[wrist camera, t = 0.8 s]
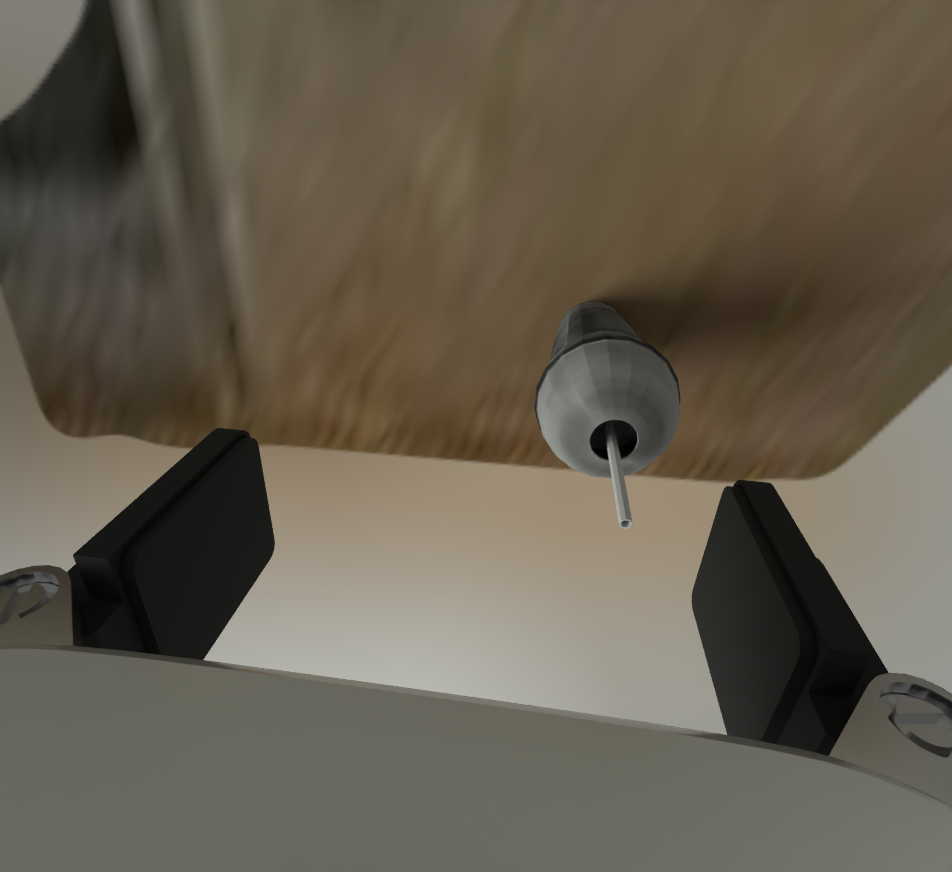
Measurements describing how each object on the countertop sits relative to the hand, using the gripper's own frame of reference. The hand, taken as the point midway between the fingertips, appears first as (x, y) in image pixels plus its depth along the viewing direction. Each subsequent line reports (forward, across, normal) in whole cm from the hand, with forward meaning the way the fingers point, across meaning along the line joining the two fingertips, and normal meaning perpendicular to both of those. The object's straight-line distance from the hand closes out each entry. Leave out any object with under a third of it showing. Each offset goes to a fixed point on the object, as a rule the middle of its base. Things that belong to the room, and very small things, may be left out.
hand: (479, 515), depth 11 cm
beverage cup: (+29, -4, +6) cm, 30 cm away
